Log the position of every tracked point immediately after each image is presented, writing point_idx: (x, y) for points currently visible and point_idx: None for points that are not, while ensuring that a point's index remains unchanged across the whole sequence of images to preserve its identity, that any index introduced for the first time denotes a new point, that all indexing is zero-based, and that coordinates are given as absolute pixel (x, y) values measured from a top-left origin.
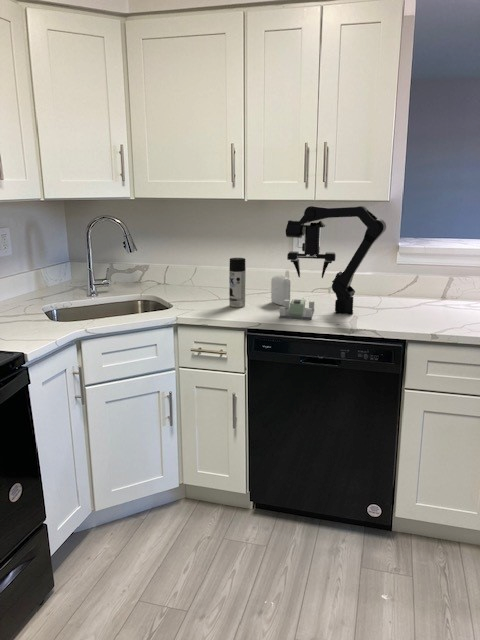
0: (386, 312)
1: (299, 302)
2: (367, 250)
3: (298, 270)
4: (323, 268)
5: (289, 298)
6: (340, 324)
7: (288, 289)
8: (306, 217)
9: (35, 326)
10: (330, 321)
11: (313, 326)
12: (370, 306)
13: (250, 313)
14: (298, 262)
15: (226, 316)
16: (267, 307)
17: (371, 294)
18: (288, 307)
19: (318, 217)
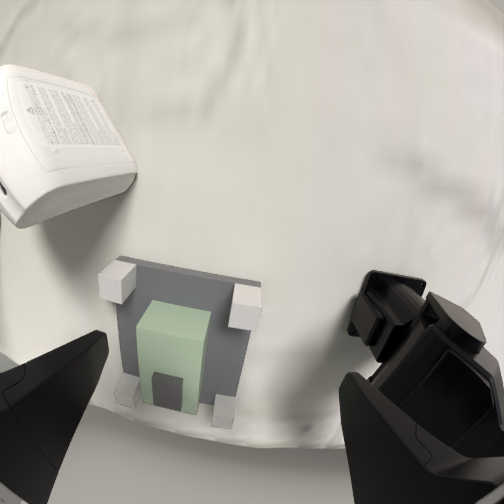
0: (495, 286)
1: (178, 408)
2: None
3: (74, 420)
4: (358, 492)
5: (119, 177)
6: (313, 427)
7: (81, 200)
8: None
9: None
10: (294, 410)
11: (235, 441)
12: (495, 195)
13: (37, 315)
14: (26, 474)
15: (11, 338)
16: (55, 222)
17: (500, 15)
18: (133, 287)
19: None
